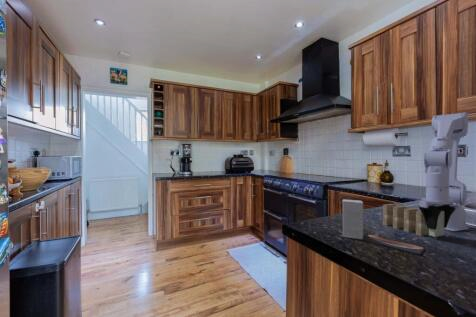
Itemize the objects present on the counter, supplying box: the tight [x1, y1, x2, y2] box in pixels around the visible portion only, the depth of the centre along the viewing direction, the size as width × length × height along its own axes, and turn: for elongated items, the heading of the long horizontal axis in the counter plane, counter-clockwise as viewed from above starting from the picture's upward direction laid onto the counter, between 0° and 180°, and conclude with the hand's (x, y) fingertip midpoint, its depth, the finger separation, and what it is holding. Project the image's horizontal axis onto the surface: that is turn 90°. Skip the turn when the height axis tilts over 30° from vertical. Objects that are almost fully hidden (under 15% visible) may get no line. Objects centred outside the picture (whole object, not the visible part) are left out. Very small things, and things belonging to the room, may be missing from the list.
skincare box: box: [342, 199, 364, 240], centre depth 74 cm, size 6×4×12 cm
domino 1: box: [382, 203, 397, 227], centre depth 89 cm, size 2×5×8 cm, turn 110°
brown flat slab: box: [361, 234, 426, 256], centre depth 68 cm, size 8×1×15 cm
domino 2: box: [392, 205, 407, 230], centre depth 85 cm, size 2×5×8 cm, turn 110°
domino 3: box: [403, 207, 419, 233], centre depth 81 cm, size 2×5×8 cm, turn 110°
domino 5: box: [428, 211, 445, 238], centre depth 74 cm, size 2×5×8 cm, turn 110°
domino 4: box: [415, 210, 430, 237], centre depth 77 cm, size 2×5×8 cm, turn 110°
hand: (436, 227), depth 74 cm, fingers closed on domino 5, 5 cm apart
